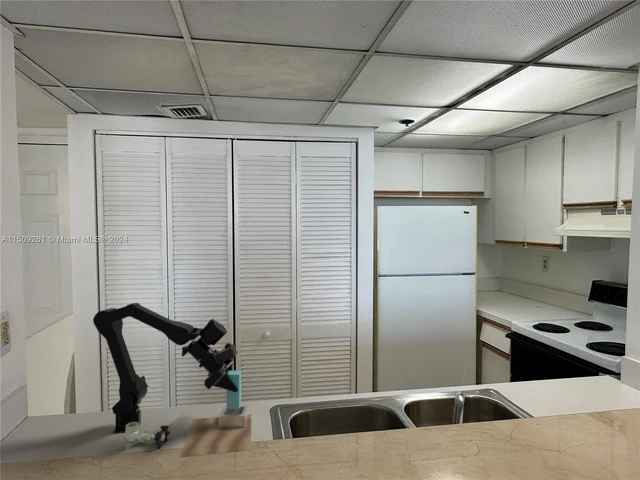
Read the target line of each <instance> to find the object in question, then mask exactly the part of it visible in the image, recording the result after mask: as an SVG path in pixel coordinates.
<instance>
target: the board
mask: <svg viewBox="0 0 640 480" xmlns="http://www.w3.org/2000/svg"><path fill="white" fill-rule="evenodd" d="M246 451H252V413H249V417H248V419H247V422H246V425H245V427H236V428H219V416H215V417H214V416H213V417H212V416H211V417H203V418H193V420H192V422H191V425H190V428H189V431H188V433H187V436H186V439H185V442H184V445H183V447H182V450H181V452H180V456H179V458H187V457H198V456H206V455H207V456H208V455H216V454H225V453H226V454H227V453H228V454H229V453H235V452H246Z"/></svg>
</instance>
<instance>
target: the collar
mask: <svg viewBox="0 0 640 480" xmlns="http://www.w3.org/2000/svg"><path fill="white" fill-rule="evenodd" d="M249 414H250V405H249V404H246V405H245V404H244V405H243V404H241V406H240V408H239V409H227V405H224V406H223V407H222V409H221V411H220V413H219V415H218V417H219V428H236V427H245V425H246V422H247V419H248V417H249Z"/></svg>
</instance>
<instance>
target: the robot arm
mask: <svg viewBox="0 0 640 480" xmlns="http://www.w3.org/2000/svg"><path fill="white" fill-rule="evenodd" d="M130 317H131V318H132V319H135V320H137V321H138V322H141V323H143V324H145V325H147V326H149V327H151V328H153V329H155V330H157V331H159V332H161V333H162V334H164V335H165V336H166V338H167V339H168V340H170V341H171V342H173V344H175V345H176V346H182V347H181V357H185V356H186V355H187V354H189V355H190V356H191V357H192V358H193V359H194V360H195V361H196V362H198V364H199V365H198V367H199V369H202V367H203V369H204V370H205V371H207V373H208V374H207V377H206V379H205V380H204V383H203V384H204V387H205V388H206V389H207V390H210V389H211V388H212V387H213V388H215V387H216V388H219V389H223V390H226V391H227V390H230V391H233V392H237V391H238V389H237V387H236V386H235V384H234V383H233V382H232V380H231V379H230V378H229V375H228V372H229V371H234V359H235V357H236V356H237V355H238V350H237V346H236V345H235V344H234V343H233V344H232V343H231V342H227V343H226V344H225V345H224V348H223V349H222V350H220V351H219V350H218V349H214V350H213V349H212V348H211V345H212V346H215V345H216V344H217V343H218V342H219V341H220V340H222V338H223V337H225V335H227V333H228V331H227V329H226V327H225V326H224V324H222V323H220V322H219V321H217V320H215V319H214V318H211V319H210V320H209V321H207V323H206V325H205V326H204V327H203V328H202V327H200V328H199V327H194V325H192V324H189V323H187V322H183V321H176V320H172V319H169V318H167V317H165V316H163V315H161V314H159V313H157V312H155V311H153V310H151V309H150V308H147V307H145V306H144V305H143V306H142V305H141V304H140V303H138V302H132V303H129V304H126V306H125V305H124V306H122V307H120V308H115V307H110V308H106V309H103V310H99V311H98V312H96V314H95V315H94V317H93V319H92V321H93V325H94V326H95V328H96V330H97V332H98V333H99V334H100V335H101V336H102V337H103V338H104V339H105V340H106V343H107V347H108V349H109V352H110V355H111V358H112V361H113V364H114V368H115V370H116V373H117V376H118V379H119V386H118V387H119V388H118V393H119V394H118V395H119V400H118V401H117V402H116V403H115V404H114V405H113V406H112V407H111V410H112V413H113V415H115V428H114V430H113V434H115V433H117V434H118V433H126V425H127V424H128V423H131V422H139V426H140V425H141V424H142V410H140V404H141V402H142V401H143V399H144V398H145V397H146V395H147V393H148V387H149V385H148V384H147V382H146V381H147V380H146V377H145V375H141V376H140V375H138V374H137V373H136V370H135V367H134V365H133V361H132V359H131V356H130V353H129V350H128V346H127V344H126V341H125V339H124V336H123V325H124V323H123V321H124V319H126V318H130ZM198 337H199V338H198ZM197 338H198V339H197ZM196 339H197V340H196ZM190 341H191V342H190ZM189 342H190V343H189ZM187 343H188V345H186V344H187Z"/></svg>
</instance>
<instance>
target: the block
mask: <svg viewBox="0 0 640 480" xmlns="http://www.w3.org/2000/svg"><path fill="white" fill-rule="evenodd" d="M228 375H229V378H230V379H231V380H232V382H233V383H234V384H235V386H236V387H237V389H238V391H237V392H233V391H230V390H226V406H227V409H239V408H240V406H241V405H242V370H233V371H229V372H228Z"/></svg>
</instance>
